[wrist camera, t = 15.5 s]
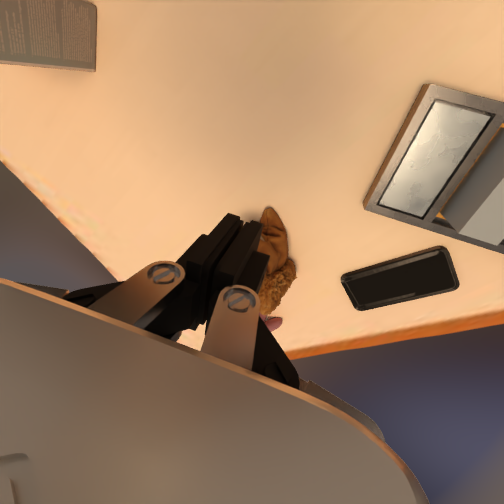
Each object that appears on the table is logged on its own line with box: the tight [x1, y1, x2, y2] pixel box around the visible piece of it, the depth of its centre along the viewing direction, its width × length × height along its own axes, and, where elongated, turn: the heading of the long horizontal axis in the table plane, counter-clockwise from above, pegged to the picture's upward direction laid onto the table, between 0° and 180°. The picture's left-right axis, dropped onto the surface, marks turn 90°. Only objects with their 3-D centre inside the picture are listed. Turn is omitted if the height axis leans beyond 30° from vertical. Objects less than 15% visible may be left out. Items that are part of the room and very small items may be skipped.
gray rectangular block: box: [440, 127, 504, 246], centre depth 26 cm, size 10×4×6 cm, turn 167°
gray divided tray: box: [363, 84, 504, 254], centre depth 29 cm, size 14×22×3 cm, turn 77°
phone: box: [341, 246, 460, 311], centre depth 39 cm, size 8×1×15 cm
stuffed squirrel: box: [257, 208, 297, 316], centre depth 38 cm, size 10×14×13 cm
